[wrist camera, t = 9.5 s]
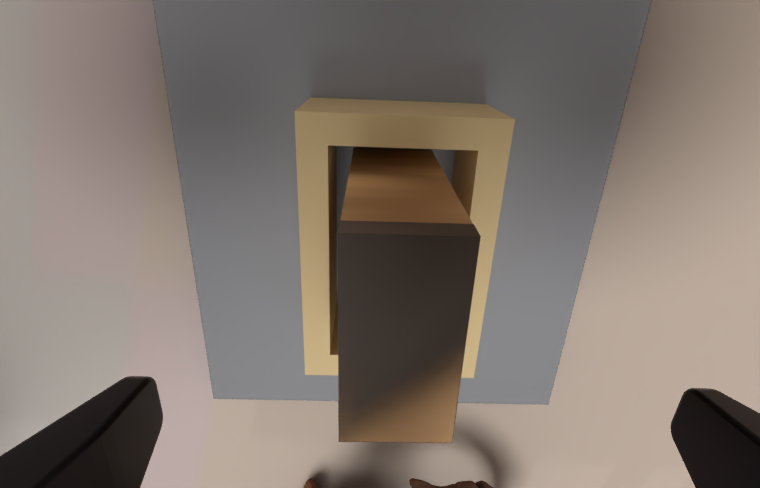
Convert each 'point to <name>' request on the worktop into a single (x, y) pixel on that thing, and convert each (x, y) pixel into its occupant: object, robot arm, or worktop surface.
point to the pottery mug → (427, 484)
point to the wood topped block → (402, 298)
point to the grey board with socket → (390, 131)
